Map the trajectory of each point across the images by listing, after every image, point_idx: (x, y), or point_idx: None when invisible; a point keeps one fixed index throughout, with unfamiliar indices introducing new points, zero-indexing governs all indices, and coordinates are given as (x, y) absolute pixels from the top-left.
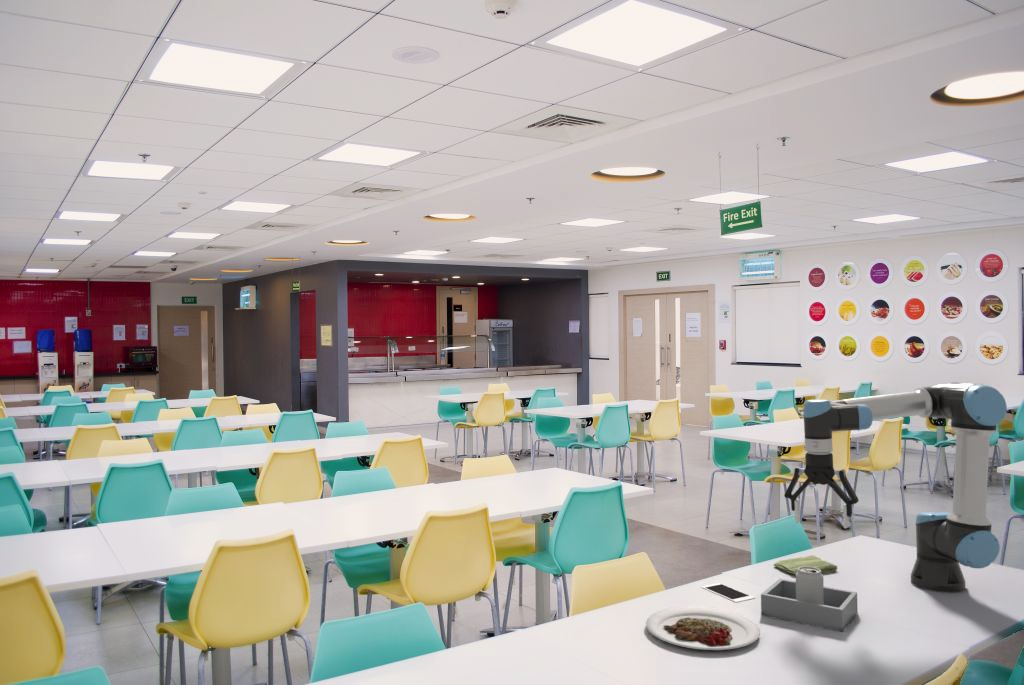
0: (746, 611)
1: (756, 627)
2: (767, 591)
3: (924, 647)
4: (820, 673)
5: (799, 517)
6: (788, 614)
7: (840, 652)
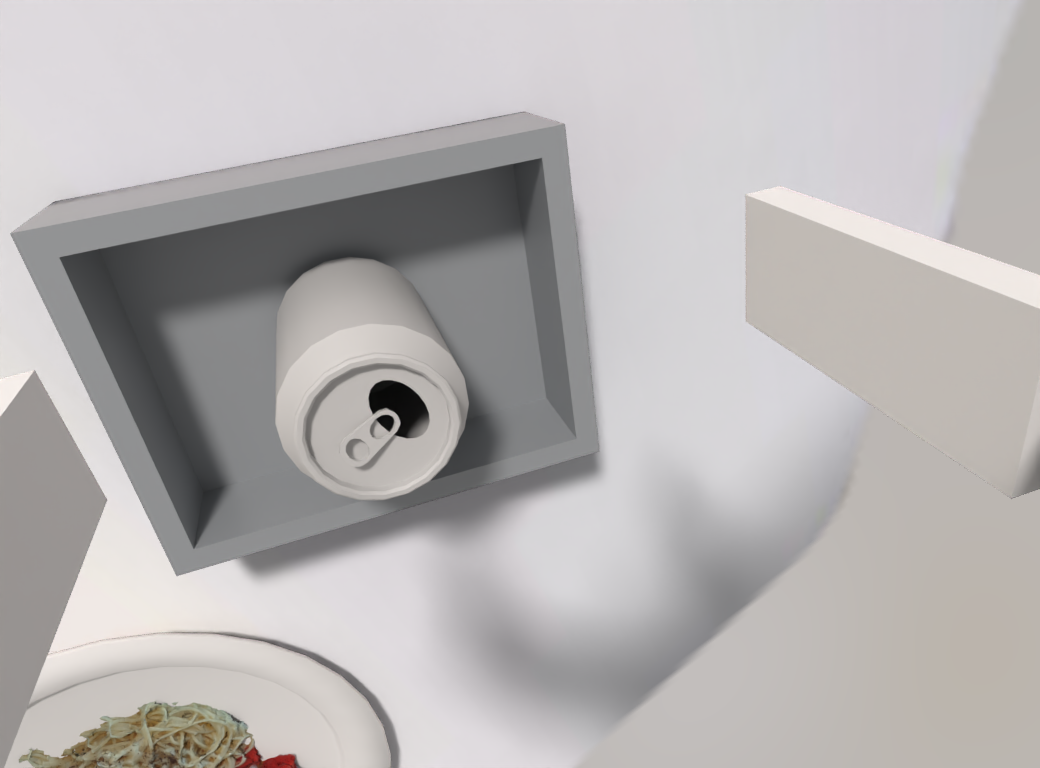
0: (100, 521)
1: (317, 673)
2: (167, 515)
3: None
4: (622, 704)
5: (37, 452)
6: None
7: (618, 559)
